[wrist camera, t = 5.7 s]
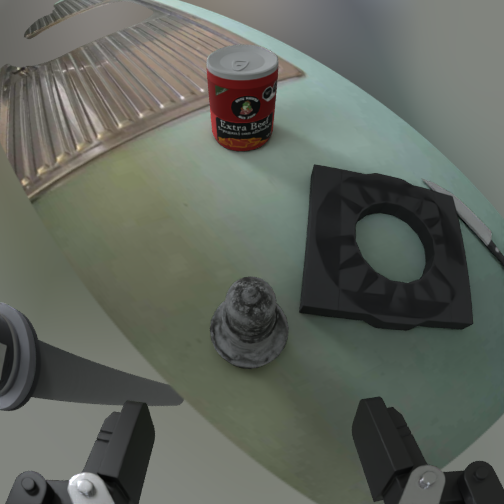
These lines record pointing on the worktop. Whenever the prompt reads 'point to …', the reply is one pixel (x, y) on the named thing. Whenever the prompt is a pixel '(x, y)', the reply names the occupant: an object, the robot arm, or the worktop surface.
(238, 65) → the canned food
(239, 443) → the worktop surface
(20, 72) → the worktop surface
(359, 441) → the robot arm
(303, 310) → the black pad
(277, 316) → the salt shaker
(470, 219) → the chef's knife
